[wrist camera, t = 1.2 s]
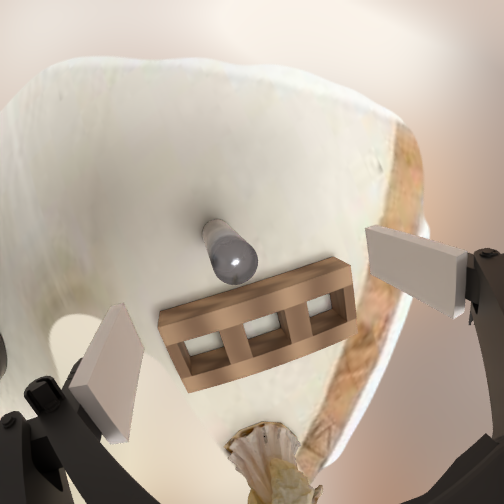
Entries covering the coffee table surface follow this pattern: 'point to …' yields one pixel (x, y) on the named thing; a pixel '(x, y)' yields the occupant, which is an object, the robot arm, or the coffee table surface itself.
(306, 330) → the hole block
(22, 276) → the coffee table surface
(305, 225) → the coffee table surface
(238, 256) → the peg
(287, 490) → the figurine
